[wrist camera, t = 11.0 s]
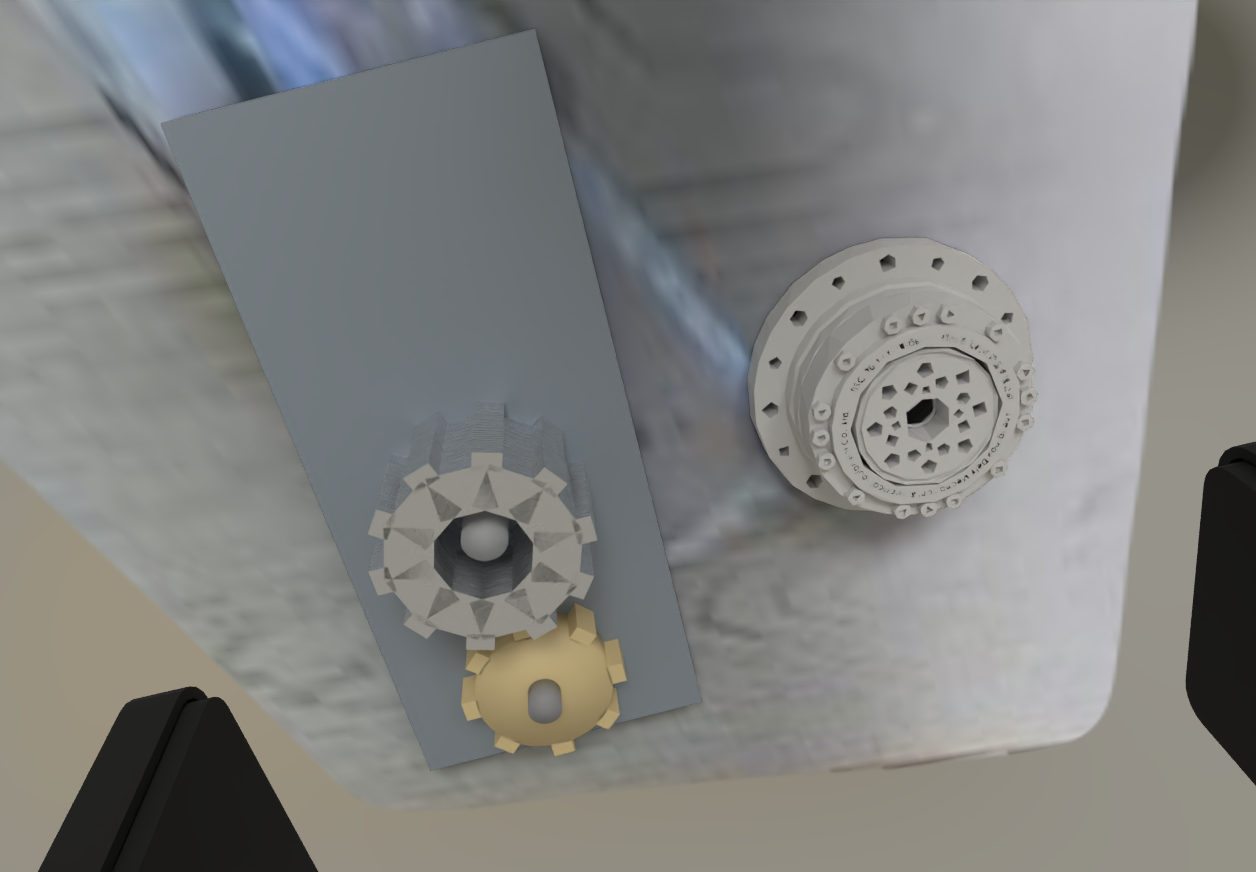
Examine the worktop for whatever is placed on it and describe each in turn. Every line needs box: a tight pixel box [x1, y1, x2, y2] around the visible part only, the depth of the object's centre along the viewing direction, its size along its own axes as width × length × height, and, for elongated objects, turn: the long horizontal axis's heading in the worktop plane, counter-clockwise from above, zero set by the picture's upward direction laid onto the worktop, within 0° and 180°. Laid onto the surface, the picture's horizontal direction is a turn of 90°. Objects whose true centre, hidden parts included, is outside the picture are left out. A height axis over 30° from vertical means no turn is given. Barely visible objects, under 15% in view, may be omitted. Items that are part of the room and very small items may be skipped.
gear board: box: [161, 28, 702, 771], centre depth 32 cm, size 25×11×4 cm, turn 13°
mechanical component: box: [747, 238, 1038, 519], centre depth 33 cm, size 10×4×10 cm
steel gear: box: [368, 401, 597, 650], centre depth 32 cm, size 7×7×4 cm
